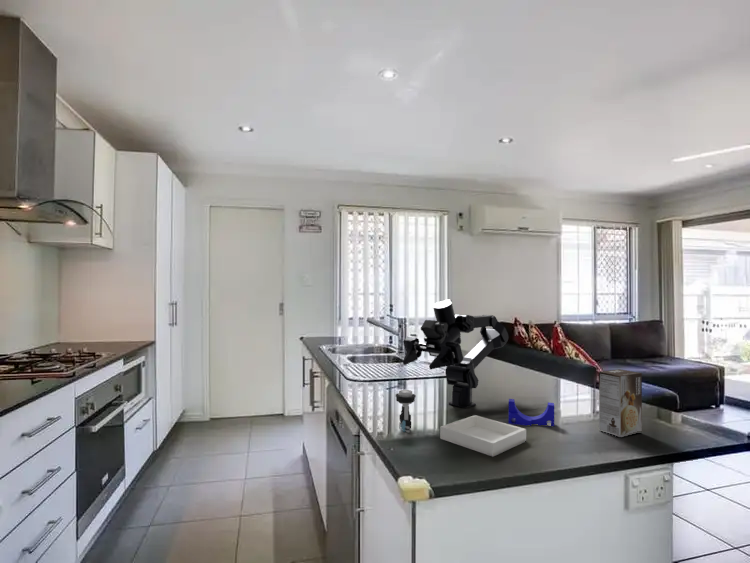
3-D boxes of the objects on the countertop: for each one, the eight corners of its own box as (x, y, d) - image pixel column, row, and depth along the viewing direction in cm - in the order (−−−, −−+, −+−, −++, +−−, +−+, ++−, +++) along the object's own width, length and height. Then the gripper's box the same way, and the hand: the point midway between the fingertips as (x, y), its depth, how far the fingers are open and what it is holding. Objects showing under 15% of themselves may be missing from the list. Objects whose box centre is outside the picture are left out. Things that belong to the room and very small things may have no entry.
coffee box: (619, 426, 119) (619, 368, 119) (642, 433, 113) (643, 372, 113) (597, 431, 115) (598, 371, 115) (621, 438, 109) (621, 375, 109)
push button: (418, 434, 110) (418, 395, 110) (397, 434, 109) (398, 395, 109) (412, 425, 116) (413, 388, 117) (393, 426, 116) (394, 389, 116)
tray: (474, 426, 117) (474, 415, 117) (526, 441, 106) (526, 429, 106) (440, 438, 107) (440, 426, 107) (492, 456, 96) (493, 443, 96)
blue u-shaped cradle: (508, 424, 120) (508, 402, 120) (508, 419, 124) (509, 398, 124) (554, 429, 116) (554, 407, 116) (553, 424, 120) (553, 402, 120)
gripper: (413, 312, 134) (383, 337, 124) (466, 316, 122) (437, 343, 111) (422, 343, 138) (393, 370, 127) (473, 350, 125) (447, 380, 115)
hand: (416, 365), depth 120 cm, fingers open, 9 cm apart
